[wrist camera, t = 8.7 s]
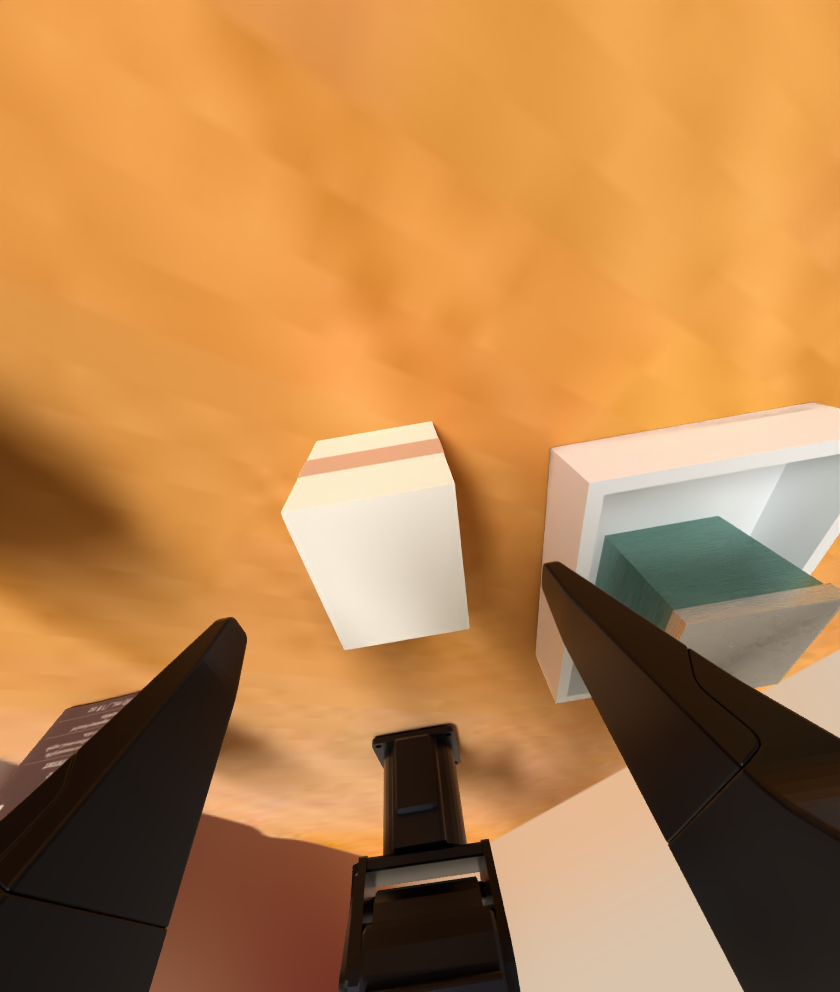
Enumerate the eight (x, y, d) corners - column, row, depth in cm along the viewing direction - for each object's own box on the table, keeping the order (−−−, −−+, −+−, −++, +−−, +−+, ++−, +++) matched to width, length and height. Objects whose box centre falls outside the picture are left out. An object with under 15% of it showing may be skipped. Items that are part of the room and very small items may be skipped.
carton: (447, 539, 16) (470, 629, 11) (355, 555, 16) (344, 650, 11) (432, 420, 12) (455, 482, 8) (316, 440, 12) (279, 512, 8)
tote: (699, 627, 21) (742, 671, 19) (535, 655, 21) (555, 703, 19) (812, 402, 13) (914, 426, 11) (550, 447, 13) (589, 482, 11)
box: (147, 682, 19) (-127, 1119, 9) (193, 717, 22) (18, 1093, 11) (57, 704, 20) (-307, 1149, 9) (112, 735, 22) (-130, 1118, 12)
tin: (588, 611, 18) (648, 705, 14) (603, 534, 15) (686, 624, 11) (686, 594, 18) (777, 683, 14) (721, 513, 15) (850, 596, 11)
